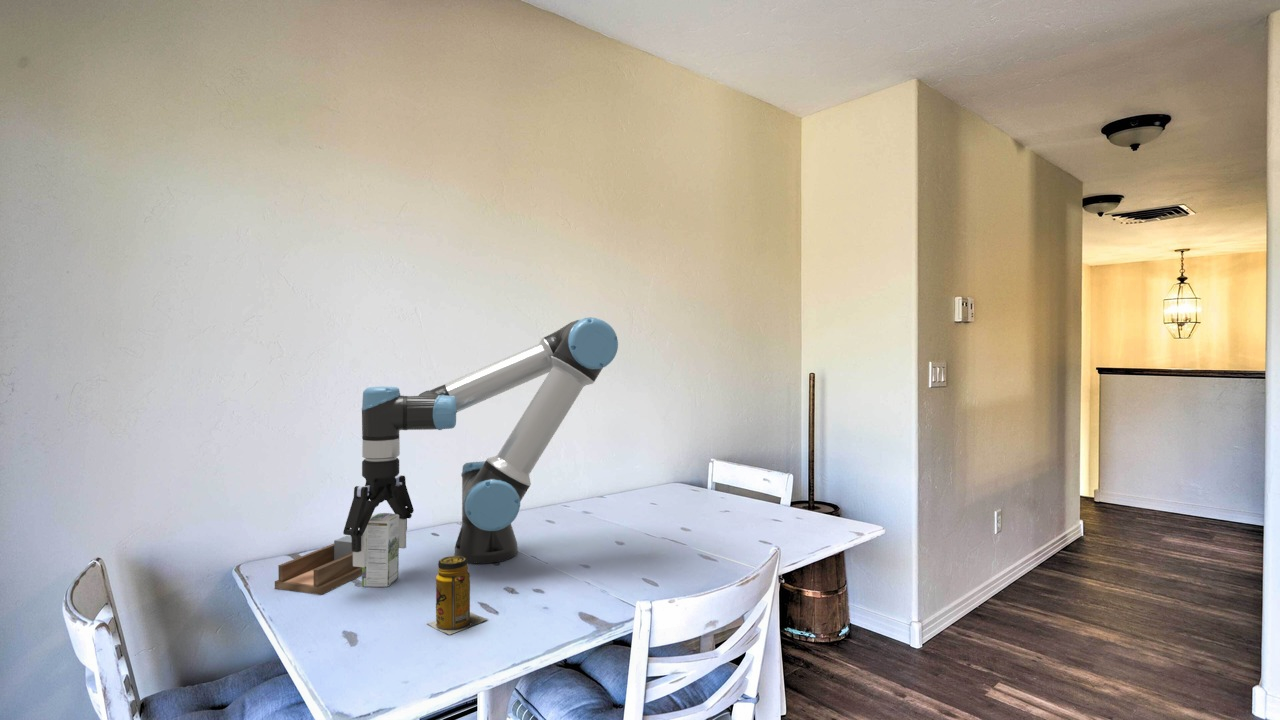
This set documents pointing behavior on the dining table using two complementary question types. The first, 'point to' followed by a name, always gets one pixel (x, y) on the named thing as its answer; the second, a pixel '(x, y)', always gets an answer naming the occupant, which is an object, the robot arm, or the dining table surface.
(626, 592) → the dining table surface
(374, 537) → the syrup box
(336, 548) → the slate block
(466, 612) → the condiment
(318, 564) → the walnut tray
